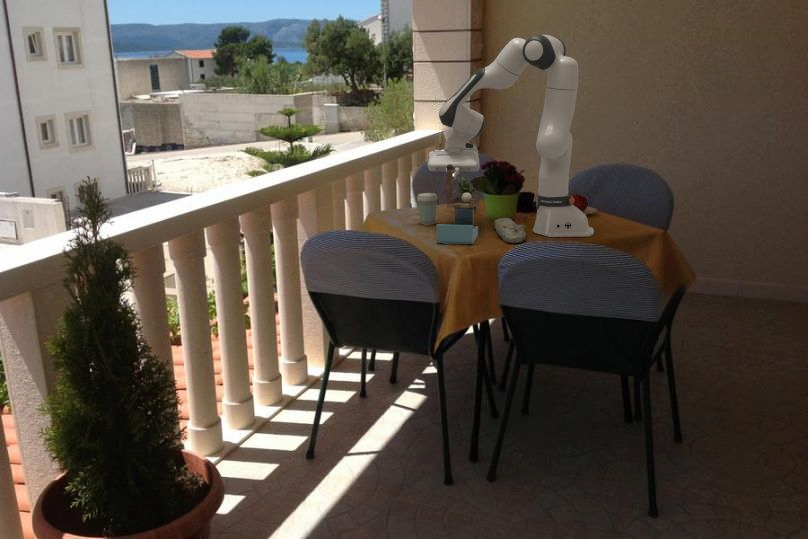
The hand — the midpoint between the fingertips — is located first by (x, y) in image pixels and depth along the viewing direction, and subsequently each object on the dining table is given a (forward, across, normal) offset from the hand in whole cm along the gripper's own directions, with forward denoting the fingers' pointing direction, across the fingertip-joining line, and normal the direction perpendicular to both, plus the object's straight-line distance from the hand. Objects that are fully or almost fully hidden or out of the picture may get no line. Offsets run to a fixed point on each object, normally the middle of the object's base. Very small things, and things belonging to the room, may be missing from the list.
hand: (451, 178), depth 281 cm
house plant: (-9, -2, +38) cm, 39 cm away
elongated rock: (+18, +23, +11) cm, 31 cm away
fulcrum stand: (+17, +6, +11) cm, 21 cm away
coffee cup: (+8, -11, +20) cm, 24 cm away
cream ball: (+4, +6, +7) cm, 10 cm away
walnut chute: (+12, +4, +4) cm, 14 cm away
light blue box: (+27, +6, +1) cm, 28 cm away
